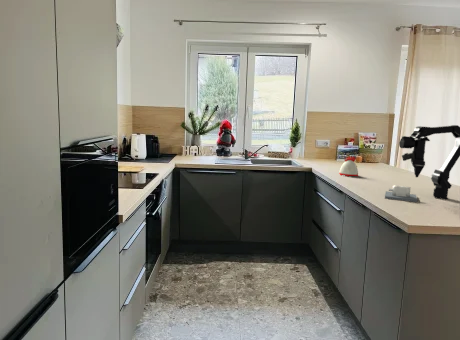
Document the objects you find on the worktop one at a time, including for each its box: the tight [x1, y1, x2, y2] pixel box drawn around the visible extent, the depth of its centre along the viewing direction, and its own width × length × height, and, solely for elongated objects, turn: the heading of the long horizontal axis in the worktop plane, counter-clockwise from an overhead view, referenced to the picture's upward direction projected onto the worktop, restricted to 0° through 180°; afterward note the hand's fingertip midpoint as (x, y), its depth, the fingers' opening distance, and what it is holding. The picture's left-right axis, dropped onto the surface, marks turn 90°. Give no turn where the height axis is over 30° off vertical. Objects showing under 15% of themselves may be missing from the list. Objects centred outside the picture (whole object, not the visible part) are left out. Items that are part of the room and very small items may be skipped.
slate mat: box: [384, 190, 418, 203], centre depth 205 cm, size 16×16×1 cm
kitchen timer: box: [338, 155, 359, 177], centre depth 281 cm, size 14×14×15 cm
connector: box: [388, 185, 412, 197], centre depth 205 cm, size 11×4×5 cm, turn 65°
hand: (416, 176), depth 208 cm, fingers open, 9 cm apart
